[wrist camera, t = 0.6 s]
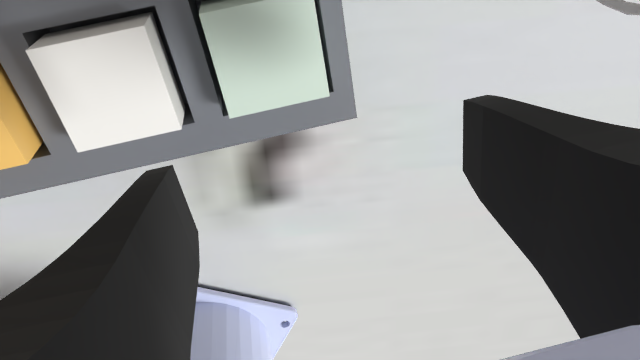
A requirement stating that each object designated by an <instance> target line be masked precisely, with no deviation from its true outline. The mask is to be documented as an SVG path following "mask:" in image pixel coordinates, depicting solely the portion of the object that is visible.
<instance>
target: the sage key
mask: <svg viewBox="0 0 640 360" xmlns="http://www.w3.org/2000/svg"><path fill="white" fill-rule="evenodd" d="M199 17H200V20H201V23H202V27H203V30H204V33H205V37H206V40H207V44H208V47H209V50H210V54H211V57H212V60H213V64H214V67H215V71H216V74H217V77H218V81H219V84H220V88H221V91H222V94H223V98H224V101H225V104H226V108H227V111H228V115H229V118H230V119H231V118H235V117H239V116H244V115H248V114H253V113H257V112H262V111H266V110H271V109H275V108H280V107H284V106H289V105H293V104H298V103H302V102H307V101H311V100H315V99H320V98H324V97H329V96H330V94H329V88H328V82H327V76H326V70H325V63H324V57H323V51H322V45H321V39H320V33H319V27H318V20H317V14H316V8H315V2H314V0H206V1H201V5H200V10H199Z"/></svg>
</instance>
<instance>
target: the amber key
mask: <svg viewBox="0 0 640 360" xmlns="http://www.w3.org/2000/svg"><path fill="white" fill-rule="evenodd" d="M43 142H44V141H43V139H42V137H41V135H40V134H39V132H38V130H37V128H36V126H35V124H34V123H33V121H32V119H31V117H30V115H29V114H28V112H27V110H26V108H25V106H24V105H23V103H22V101H21V99H20V97H19V95H18V94H17V92H16V90H15V88H14V86H13V85H12V83H11V81H10V79H9V77H8V75H7V74H6V72H5V70H4V68H3V66H2V65H1V63H0V170H2V169H7V168H11V167H16V166H20V165H25V164H28V163H29V161H30V160H31V159H32V157H33V156H34V154H35V153H36V152H37V150H38V149H39V147H40V146H41V144H42V143H43Z"/></svg>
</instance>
